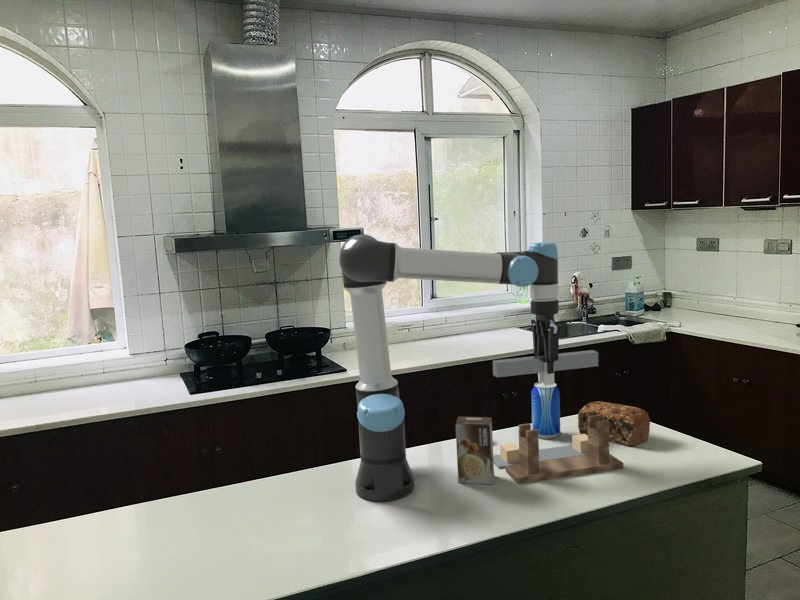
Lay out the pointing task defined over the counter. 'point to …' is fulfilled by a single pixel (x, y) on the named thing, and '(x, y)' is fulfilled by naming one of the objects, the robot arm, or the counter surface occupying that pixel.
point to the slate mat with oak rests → (543, 452)
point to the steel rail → (537, 365)
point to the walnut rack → (563, 467)
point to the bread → (618, 422)
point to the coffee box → (475, 450)
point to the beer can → (546, 410)
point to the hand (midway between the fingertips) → (546, 382)
